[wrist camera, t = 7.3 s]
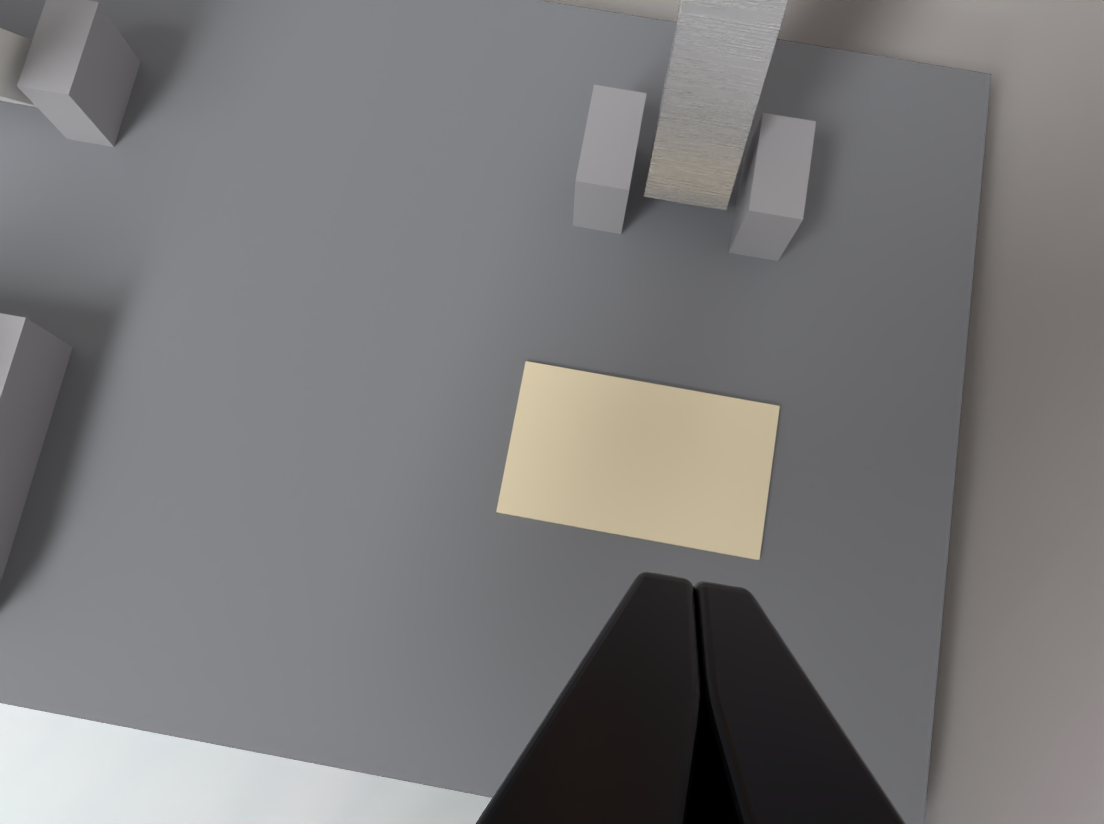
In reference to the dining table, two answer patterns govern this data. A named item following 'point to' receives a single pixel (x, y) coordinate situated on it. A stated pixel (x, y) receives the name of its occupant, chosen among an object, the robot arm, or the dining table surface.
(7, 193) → the switch panel
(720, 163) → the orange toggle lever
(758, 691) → the robot arm
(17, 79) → the grey paddle
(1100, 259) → the dining table surface
